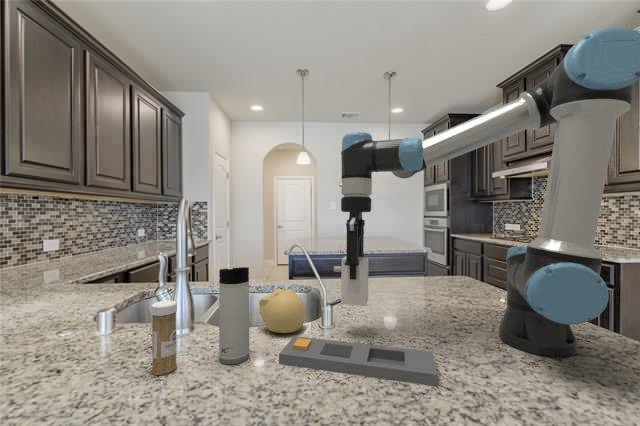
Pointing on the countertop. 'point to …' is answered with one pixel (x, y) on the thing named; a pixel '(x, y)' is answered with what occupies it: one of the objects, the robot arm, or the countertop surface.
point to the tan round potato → (282, 311)
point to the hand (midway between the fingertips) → (355, 289)
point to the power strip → (361, 360)
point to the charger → (362, 296)
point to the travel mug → (233, 315)
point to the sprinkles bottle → (164, 337)
